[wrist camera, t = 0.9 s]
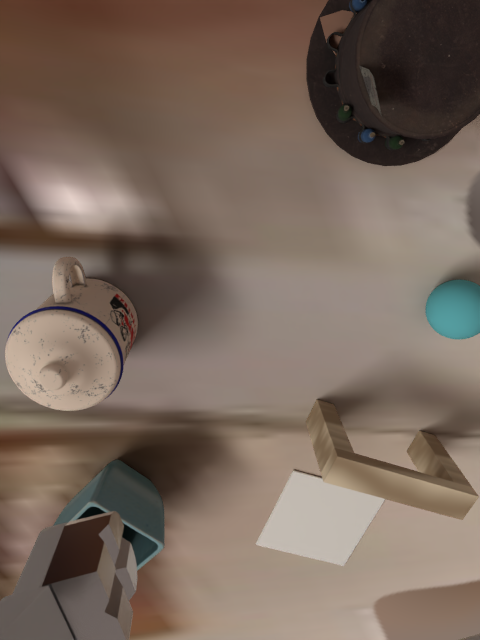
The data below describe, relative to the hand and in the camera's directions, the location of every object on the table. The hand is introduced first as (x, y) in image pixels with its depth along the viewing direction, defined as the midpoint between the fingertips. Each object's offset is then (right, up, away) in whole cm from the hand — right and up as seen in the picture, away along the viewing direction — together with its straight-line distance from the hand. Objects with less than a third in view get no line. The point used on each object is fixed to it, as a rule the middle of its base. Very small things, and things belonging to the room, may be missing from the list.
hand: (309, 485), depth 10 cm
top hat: (+11, +24, +27) cm, 38 cm away
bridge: (+13, -8, +39) cm, 42 cm away
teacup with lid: (-16, +5, +33) cm, 37 cm away
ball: (+19, +5, +31) cm, 37 cm away
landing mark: (+8, -21, +44) cm, 49 cm away
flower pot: (-15, -15, +41) cm, 46 cm away
